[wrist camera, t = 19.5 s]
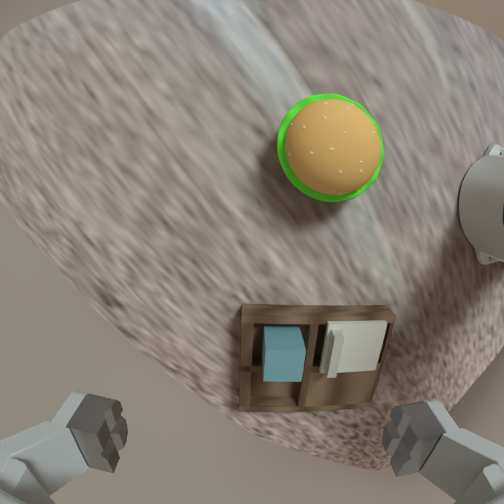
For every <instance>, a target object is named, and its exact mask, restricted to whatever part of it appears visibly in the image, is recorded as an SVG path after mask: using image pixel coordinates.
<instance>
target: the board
mask: <svg viewBox="0 0 504 504" xmlns="http://www.w3.org/2000/svg"><path fill="white" fill-rule="evenodd" d="M372 320H386V322H387V327H386V331H385V336H384V340H383V344H382V348H381V351H380V355H379V359H378V362H377V366H376V370H373V371H359V372H342V373H337V375H336V377H334V378H327V376H326V373H320V371H319V368H320V362H321V357H322V351H323V345H324V339H325V333H326V327H327V321H372ZM394 320H395V315H394V314H393V313H392V312H391V311H390V309H389V308H388V307H387V306H386V305H374V306H315V305H268V304H242V319H241V352H240V387H239V411H247V412H304V411H326V410H341V409H352V408H363V407H370V404H371V401H372V398H373V395H374V392H375V389H376V386H377V382H378V379H379V376H380V373H381V369H382V366H383V362H384V359H385V355H386V352H387V348H388V344H389V340H390V336H391V332H392V328H393V324H394ZM263 324H299V327H300V331H301V334H302V338H303V341H304V345H305V348H306V355H305V361H304V368H303V374H302V380H301V382H266V381H263V366H262V338H263Z"/></svg>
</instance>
